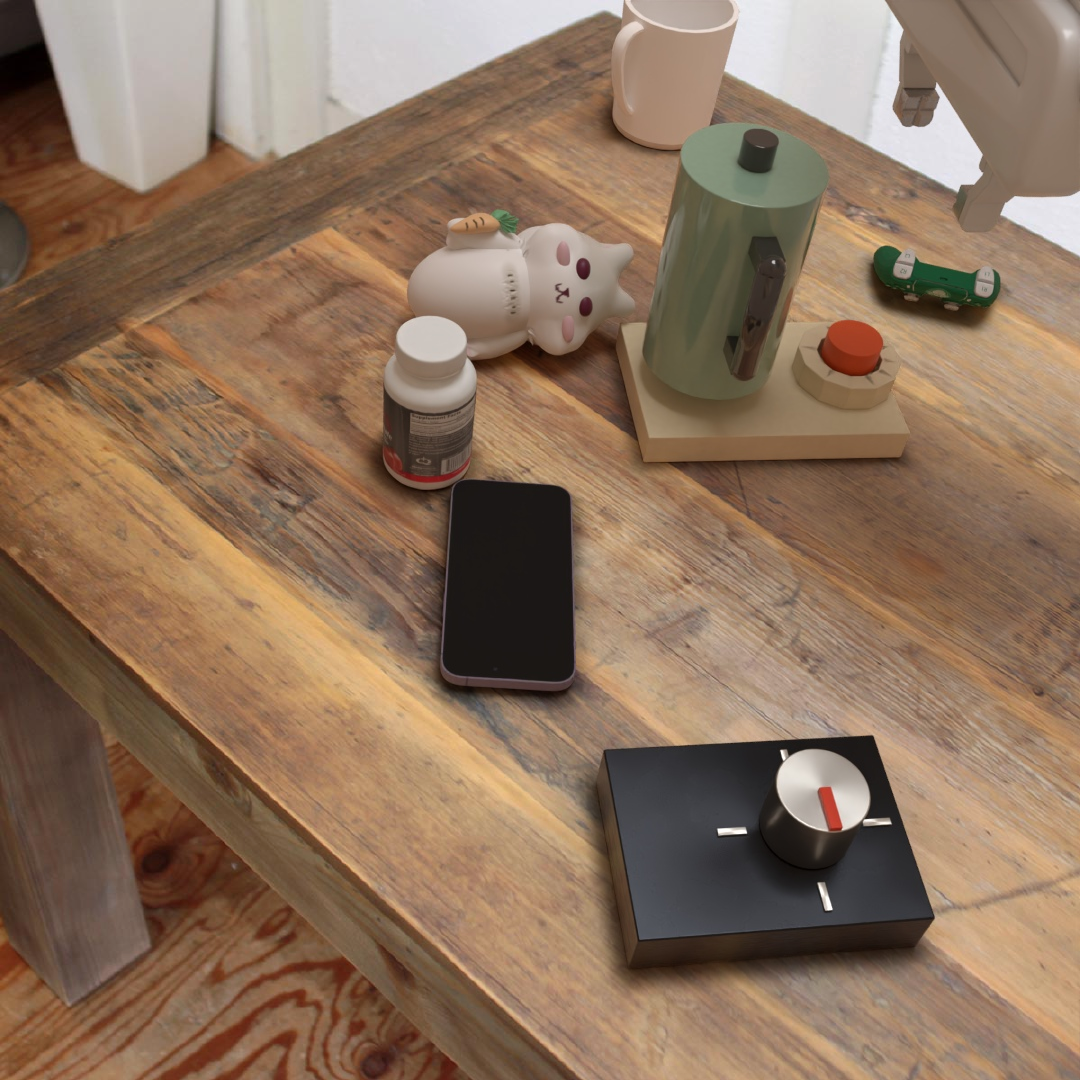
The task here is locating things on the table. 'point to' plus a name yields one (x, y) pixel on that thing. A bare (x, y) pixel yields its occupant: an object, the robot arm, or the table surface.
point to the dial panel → (747, 859)
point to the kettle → (731, 258)
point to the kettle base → (769, 407)
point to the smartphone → (509, 587)
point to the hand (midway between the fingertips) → (939, 169)
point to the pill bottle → (428, 404)
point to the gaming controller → (935, 279)
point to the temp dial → (814, 808)
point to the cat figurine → (521, 284)
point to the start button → (852, 347)
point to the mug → (669, 67)
